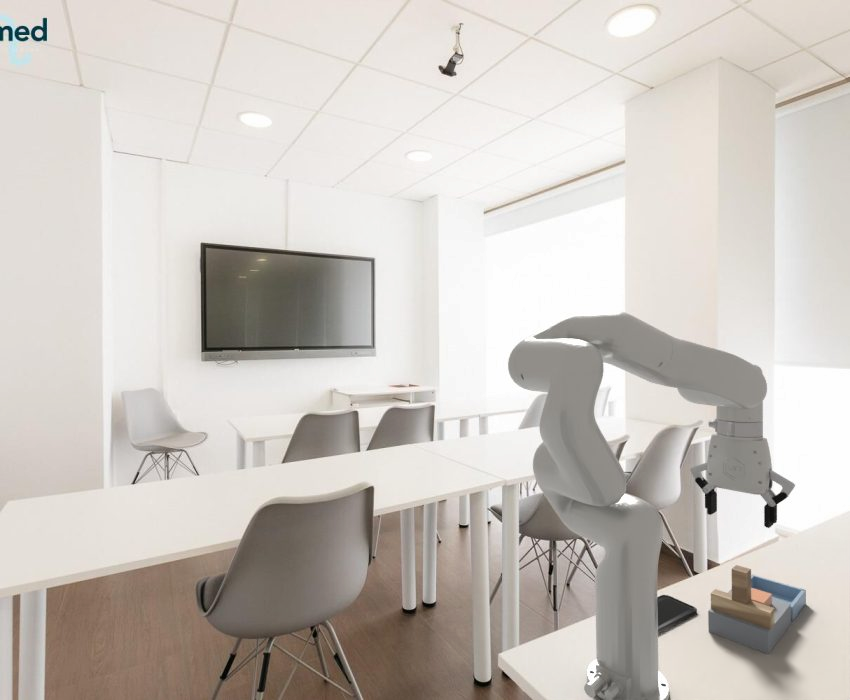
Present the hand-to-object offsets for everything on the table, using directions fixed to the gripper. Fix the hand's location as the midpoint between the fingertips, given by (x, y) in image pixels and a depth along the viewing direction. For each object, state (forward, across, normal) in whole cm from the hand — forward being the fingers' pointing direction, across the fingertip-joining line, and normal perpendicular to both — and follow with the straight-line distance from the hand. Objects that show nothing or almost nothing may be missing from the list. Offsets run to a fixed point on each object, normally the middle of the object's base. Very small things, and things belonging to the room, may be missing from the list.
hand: (739, 519), depth 98 cm
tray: (+22, +1, +17) cm, 28 cm away
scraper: (+18, 0, 0) cm, 18 cm away
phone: (+23, -14, -4) cm, 27 cm away
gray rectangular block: (+22, 0, +4) cm, 23 cm away
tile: (+18, 0, +6) cm, 19 cm away
